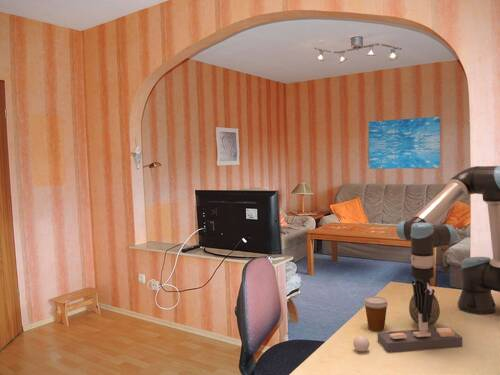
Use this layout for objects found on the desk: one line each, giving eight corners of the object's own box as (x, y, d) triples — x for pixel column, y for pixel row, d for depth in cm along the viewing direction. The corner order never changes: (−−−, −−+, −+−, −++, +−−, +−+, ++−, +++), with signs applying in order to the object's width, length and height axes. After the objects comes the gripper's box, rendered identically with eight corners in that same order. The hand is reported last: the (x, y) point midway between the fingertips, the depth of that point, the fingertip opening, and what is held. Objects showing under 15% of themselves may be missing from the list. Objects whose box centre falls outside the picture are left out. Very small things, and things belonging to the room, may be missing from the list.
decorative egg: (407, 320, 188) (406, 285, 187) (436, 320, 186) (435, 285, 185) (412, 330, 177) (411, 294, 176) (443, 331, 174) (442, 294, 173)
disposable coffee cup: (389, 333, 175) (389, 304, 174) (365, 332, 177) (364, 303, 176) (387, 324, 184) (386, 296, 184) (363, 323, 186) (363, 295, 185)
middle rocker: (425, 333, 164) (425, 330, 164) (430, 335, 160) (430, 332, 160) (412, 334, 164) (412, 331, 164) (417, 337, 160) (417, 333, 160)
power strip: (448, 335, 171) (447, 326, 170) (462, 346, 161) (462, 336, 160) (377, 341, 168) (377, 332, 168) (387, 352, 159) (387, 342, 158)
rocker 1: (402, 335, 163) (402, 332, 164) (406, 337, 160) (406, 334, 160) (389, 336, 163) (388, 333, 163) (393, 338, 159) (393, 335, 159)
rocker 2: (448, 329, 165) (448, 327, 165) (454, 336, 161) (454, 333, 161) (435, 330, 165) (436, 328, 164) (441, 337, 161) (441, 334, 160)
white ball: (366, 355, 157) (366, 340, 157) (351, 352, 160) (351, 337, 160) (373, 347, 164) (372, 332, 163) (358, 344, 167) (357, 329, 166)
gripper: (404, 262, 165) (405, 323, 166) (420, 271, 152) (421, 337, 153) (423, 261, 165) (424, 322, 167) (441, 269, 152) (442, 336, 154)
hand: (423, 329), depth 160 cm, fingers closed
